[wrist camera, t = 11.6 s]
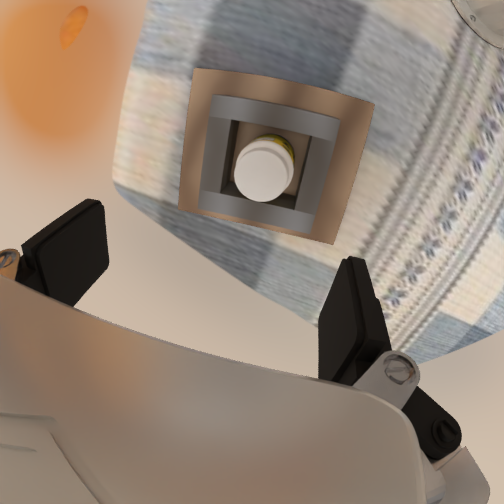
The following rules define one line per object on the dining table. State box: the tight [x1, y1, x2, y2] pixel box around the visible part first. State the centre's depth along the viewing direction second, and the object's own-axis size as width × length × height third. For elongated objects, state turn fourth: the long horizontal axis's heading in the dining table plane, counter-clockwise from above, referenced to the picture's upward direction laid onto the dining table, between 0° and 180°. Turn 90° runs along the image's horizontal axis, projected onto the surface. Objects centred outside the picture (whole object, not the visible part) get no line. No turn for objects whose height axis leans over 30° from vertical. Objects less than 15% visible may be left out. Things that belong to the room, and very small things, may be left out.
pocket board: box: [178, 68, 375, 245], centre depth 27 cm, size 18×16×5 cm
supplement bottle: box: [234, 133, 295, 202], centre depth 24 cm, size 5×5×8 cm
